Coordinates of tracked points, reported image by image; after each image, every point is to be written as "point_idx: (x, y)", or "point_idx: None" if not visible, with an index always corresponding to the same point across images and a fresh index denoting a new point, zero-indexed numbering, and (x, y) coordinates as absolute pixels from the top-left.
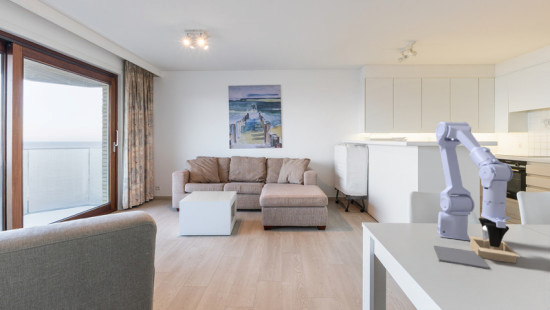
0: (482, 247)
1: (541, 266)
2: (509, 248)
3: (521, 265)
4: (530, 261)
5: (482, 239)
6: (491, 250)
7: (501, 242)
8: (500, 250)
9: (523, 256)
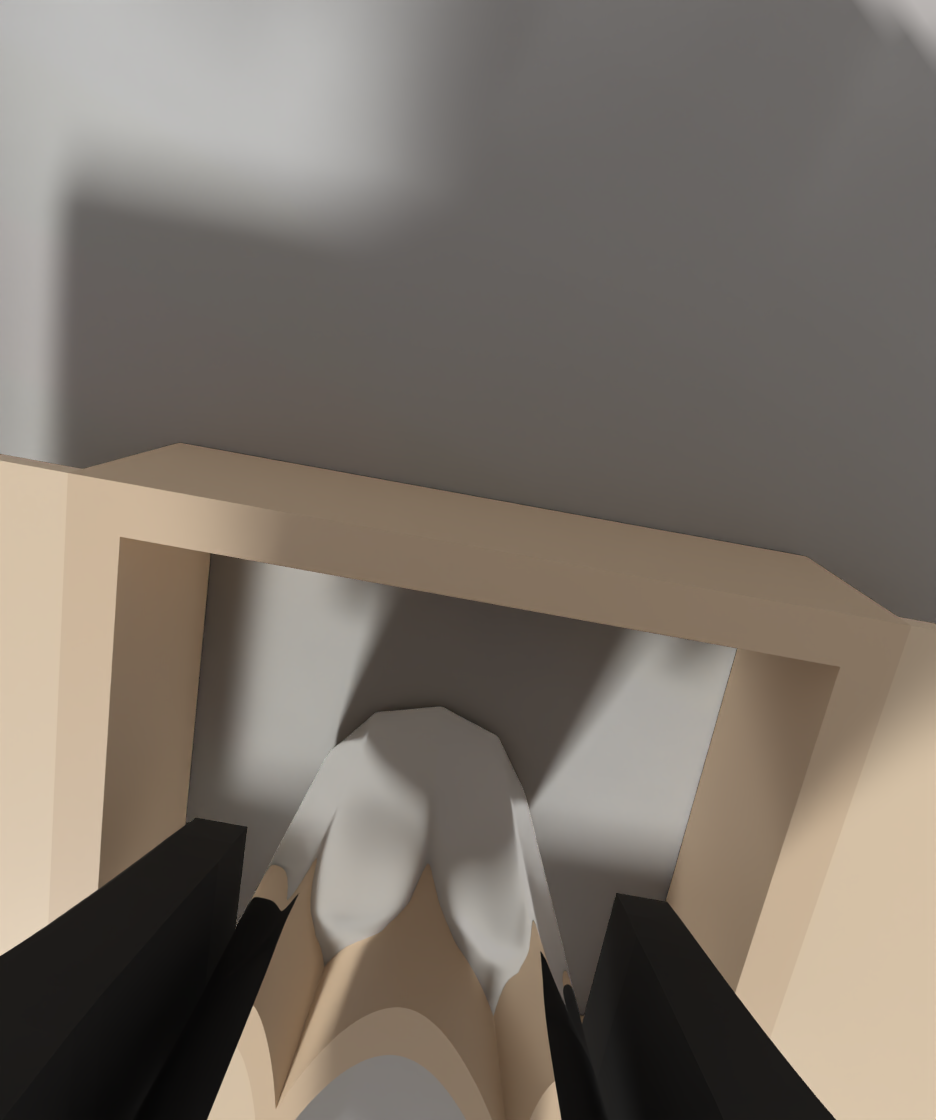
0: (174, 832)
1: (890, 101)
2: (565, 608)
3: (901, 513)
4: (637, 177)
5: (15, 917)
6: (825, 1088)
7: (83, 557)
8: (783, 905)
9: (349, 153)
